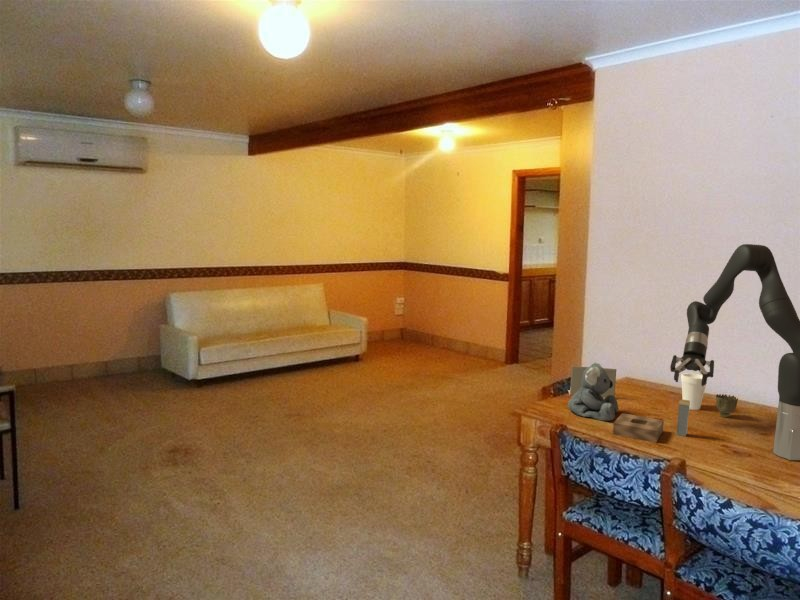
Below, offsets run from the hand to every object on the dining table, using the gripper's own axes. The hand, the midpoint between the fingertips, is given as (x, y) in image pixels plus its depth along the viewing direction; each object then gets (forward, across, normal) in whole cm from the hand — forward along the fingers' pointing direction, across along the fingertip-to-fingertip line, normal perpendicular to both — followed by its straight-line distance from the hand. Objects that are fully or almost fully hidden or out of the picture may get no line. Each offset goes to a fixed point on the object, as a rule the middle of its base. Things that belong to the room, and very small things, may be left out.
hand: (689, 382), depth 222 cm
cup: (-4, +11, +27) cm, 30 cm away
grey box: (-5, -40, +29) cm, 50 cm away
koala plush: (+16, -32, +7) cm, 37 cm away
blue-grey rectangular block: (+20, 0, +3) cm, 20 cm away
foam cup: (-8, -1, +31) cm, 32 cm away
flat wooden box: (+25, -13, -2) cm, 28 cm away
